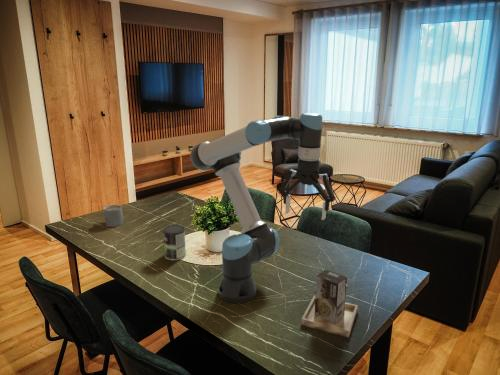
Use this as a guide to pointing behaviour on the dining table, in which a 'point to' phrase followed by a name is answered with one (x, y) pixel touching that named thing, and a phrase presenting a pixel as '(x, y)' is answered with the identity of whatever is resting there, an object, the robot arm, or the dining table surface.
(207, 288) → the dining table surface
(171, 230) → the coffee can
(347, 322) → the holder
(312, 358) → the dining table surface
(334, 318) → the coffee box
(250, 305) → the dining table surface
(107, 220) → the coffee mug
